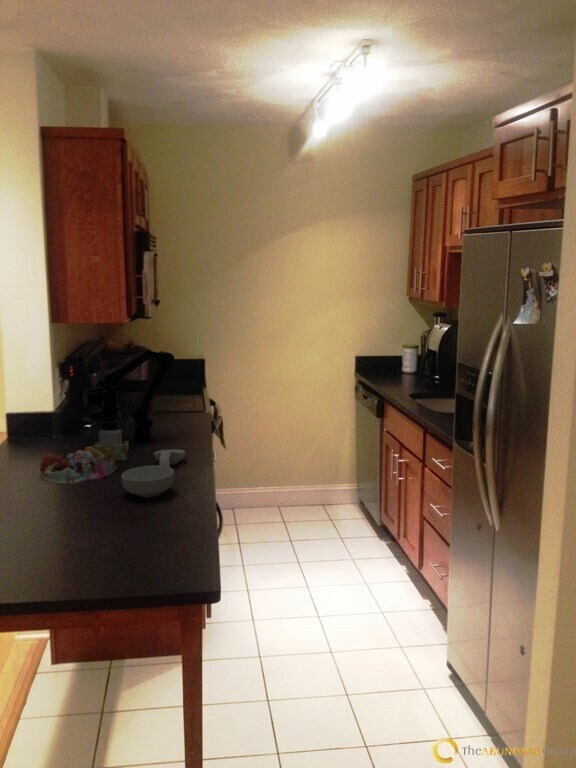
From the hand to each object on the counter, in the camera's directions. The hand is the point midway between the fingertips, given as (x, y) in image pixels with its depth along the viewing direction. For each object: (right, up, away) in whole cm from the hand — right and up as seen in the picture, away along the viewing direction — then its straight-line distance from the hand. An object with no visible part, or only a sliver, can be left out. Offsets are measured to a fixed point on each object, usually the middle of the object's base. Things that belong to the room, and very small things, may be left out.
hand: (112, 440), depth 281 cm
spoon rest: (+27, -8, -27) cm, 39 cm away
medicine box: (+2, -4, -8) cm, 9 cm away
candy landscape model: (-3, -10, -34) cm, 35 cm away
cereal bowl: (+26, -13, -54) cm, 62 cm away
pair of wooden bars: (+2, -4, -11) cm, 12 cm away
